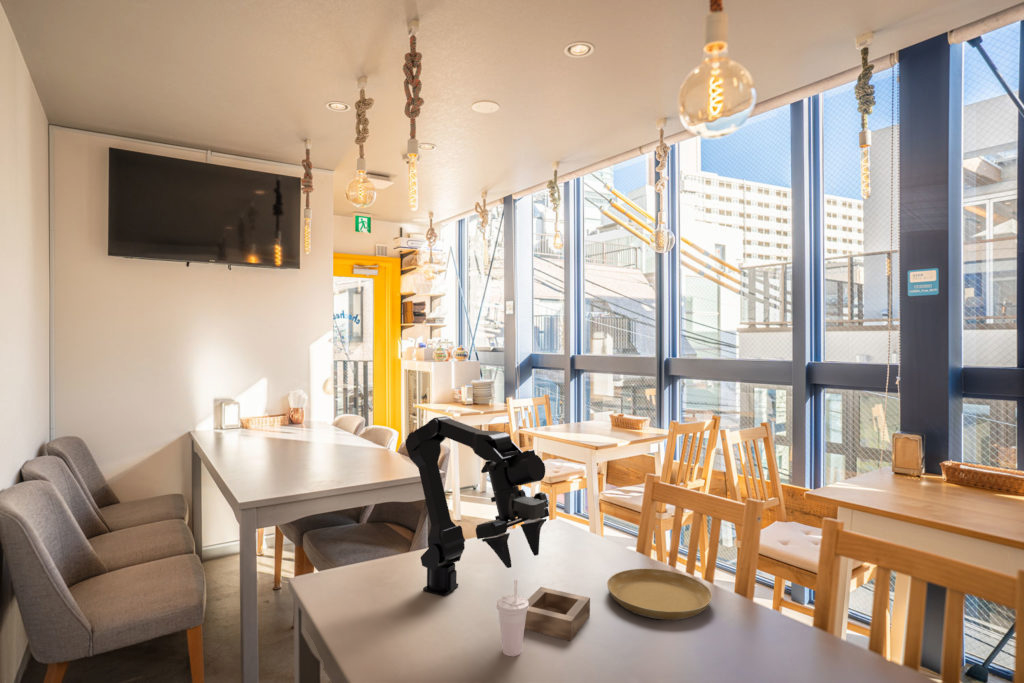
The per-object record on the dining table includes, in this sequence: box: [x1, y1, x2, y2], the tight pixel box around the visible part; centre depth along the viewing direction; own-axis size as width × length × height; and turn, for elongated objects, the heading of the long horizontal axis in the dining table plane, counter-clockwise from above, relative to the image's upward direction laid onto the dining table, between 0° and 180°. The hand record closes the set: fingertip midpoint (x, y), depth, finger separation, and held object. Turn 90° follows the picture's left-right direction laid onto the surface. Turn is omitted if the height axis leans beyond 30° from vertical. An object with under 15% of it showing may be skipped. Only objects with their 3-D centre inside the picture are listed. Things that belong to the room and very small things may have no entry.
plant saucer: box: [606, 568, 713, 621], centre depth 134 cm, size 24×24×3 cm
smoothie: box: [496, 579, 529, 657], centre depth 111 cm, size 6×6×14 cm
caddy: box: [524, 586, 591, 642], centre depth 124 cm, size 12×12×4 cm
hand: (523, 561), depth 122 cm, fingers open, 9 cm apart
